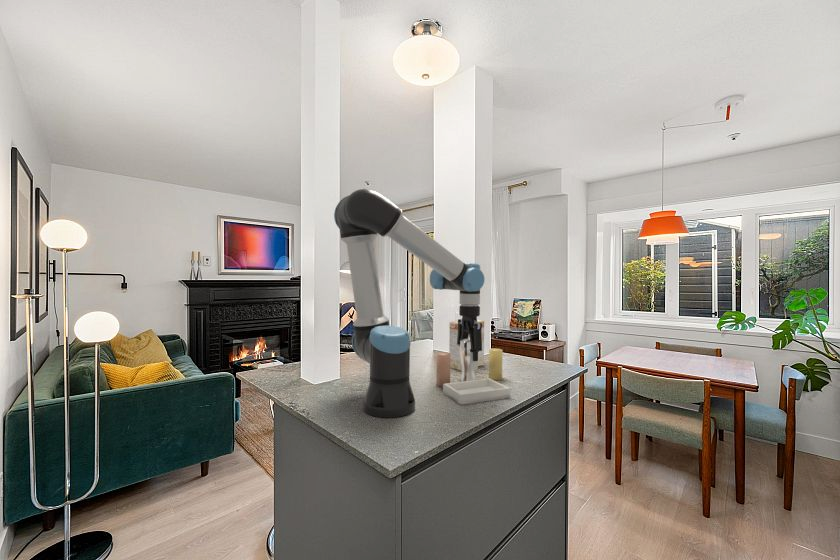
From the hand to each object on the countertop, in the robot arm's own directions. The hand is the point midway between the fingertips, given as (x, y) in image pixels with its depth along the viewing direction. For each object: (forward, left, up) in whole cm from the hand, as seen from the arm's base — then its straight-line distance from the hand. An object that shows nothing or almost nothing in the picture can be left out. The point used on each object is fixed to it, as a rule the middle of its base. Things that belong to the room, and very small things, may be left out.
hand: (468, 367), depth 138 cm
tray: (-6, -15, -5) cm, 17 cm away
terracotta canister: (-11, -1, -5) cm, 12 cm away
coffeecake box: (+10, +19, -5) cm, 22 cm away
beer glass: (0, 0, -5) cm, 5 cm away
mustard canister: (+11, -1, -5) cm, 12 cm away
